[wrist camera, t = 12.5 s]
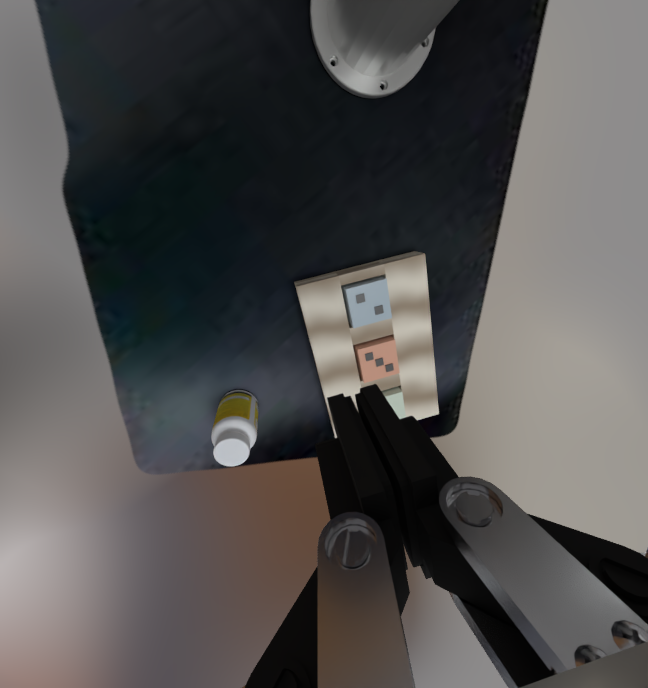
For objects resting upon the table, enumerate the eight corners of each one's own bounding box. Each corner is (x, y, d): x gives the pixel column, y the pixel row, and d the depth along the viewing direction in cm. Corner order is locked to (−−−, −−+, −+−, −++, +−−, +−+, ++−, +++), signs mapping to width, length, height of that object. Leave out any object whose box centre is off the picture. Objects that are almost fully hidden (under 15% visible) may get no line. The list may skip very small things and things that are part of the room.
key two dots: (340, 284, 39) (346, 289, 36) (378, 274, 39) (387, 279, 37) (347, 321, 41) (353, 328, 38) (383, 311, 41) (392, 318, 39)
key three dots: (351, 341, 42) (358, 350, 39) (386, 331, 43) (395, 340, 40) (358, 373, 44) (364, 383, 41) (391, 363, 45) (400, 373, 42)
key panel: (294, 281, 39) (296, 286, 36) (414, 251, 40) (425, 253, 38) (333, 431, 49) (336, 443, 46) (429, 403, 50) (438, 413, 47)
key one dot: (361, 390, 45) (368, 402, 43) (394, 381, 46) (402, 392, 43) (367, 418, 47) (373, 431, 45) (398, 408, 48) (406, 421, 45)
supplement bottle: (211, 402, 43) (196, 449, 35) (243, 381, 43) (236, 424, 34) (235, 427, 46) (227, 478, 37) (266, 408, 45) (265, 455, 36)
